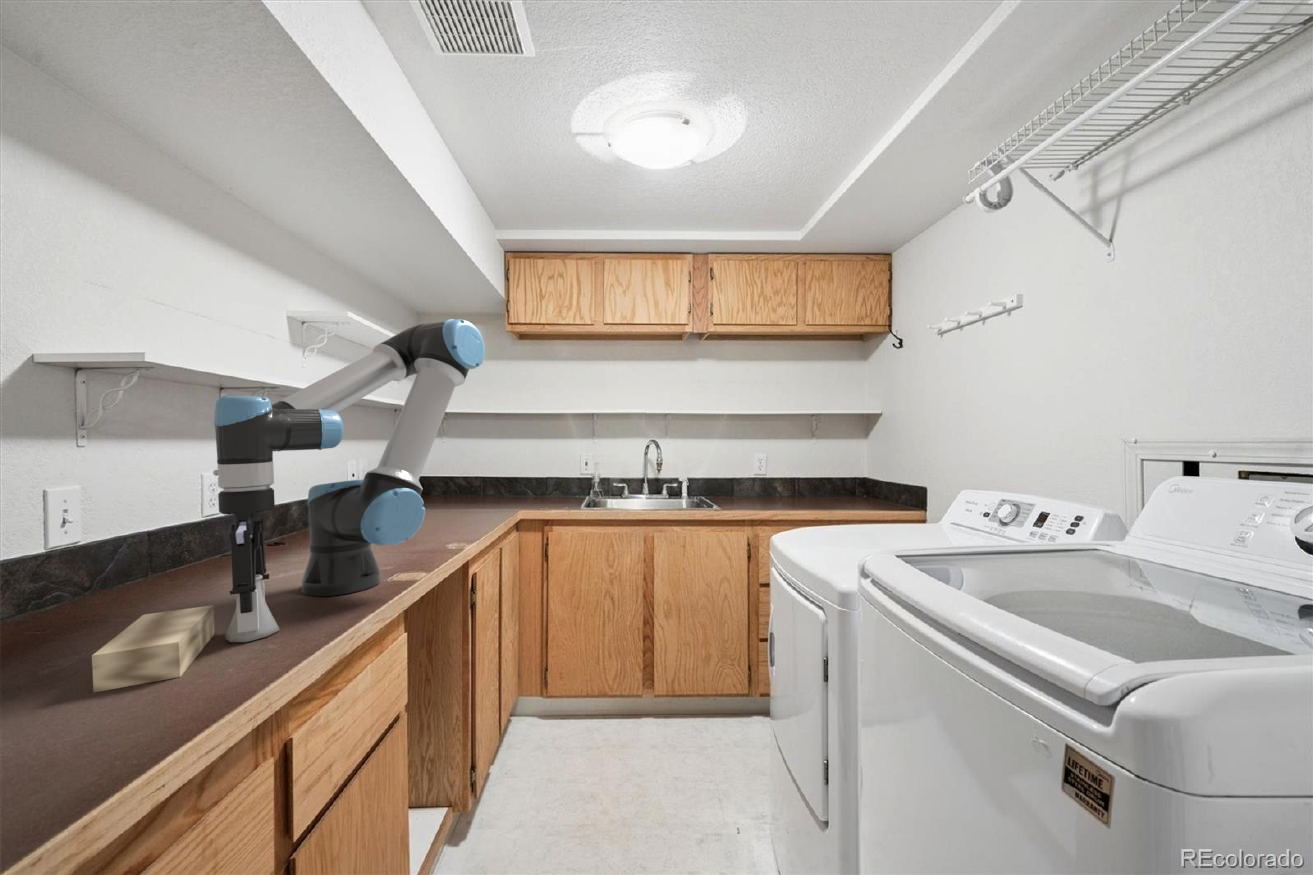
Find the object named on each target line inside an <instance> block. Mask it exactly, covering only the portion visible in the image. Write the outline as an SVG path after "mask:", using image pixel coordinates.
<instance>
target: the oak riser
mask: <svg viewBox="0 0 1313 875" xmlns="http://www.w3.org/2000/svg"><path fill="white" fill-rule="evenodd" d="M214 613H215V612H214V605H213V604H212V605H205V606H197V607H191V608H190V607H189V608H183V609H175V610H167V611H162V612H161V611H159V612H154V613H145V614H142V615H141V616H140V617H138V618H137V619H136V620H135V621H133V622H132V623H131V624H130V625H129V626H127V627H126V628H124V629H123V631H121V632H120V633H118V635H116V636H115V637H114V638H112V639H111V640H110V641H108V642H107V643H106V644H105V645H103V646H102V647H100V648H99V649H98V650H97V651H96V652H95V653H93V654H92V655H91V665H92V666H91V667H92V687H93V688H92V690H93V693H98V692H105V691H110V690H115V689H120V688H121V689H122V688H126V687H127V688H128V687H131V686H138V685H142V684H147V683H148V684H149V683H153V682H159V681H165V680H171V679H177V678H181V677H182V676H183V674H184V673H185V672H186V670H187V669H188V668H189V667H190V665H191V664H192V663H193V662H194V661H195V659H196V658H197V656H199V654H200V653H201V652H202V651H203V650H204V648H205V647H206V645H207V644H208V643H209V642H210V640H211V639H212V638H213V637H214V635H215V620H214V619H215V618H214Z"/></svg>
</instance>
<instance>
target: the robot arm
mask: <svg viewBox="0 0 1313 875" xmlns="http://www.w3.org/2000/svg"><path fill="white" fill-rule="evenodd" d="M485 356H486V346H485V342H484V339H483V336H482V334H481V332H480V331H479V329H478V327H476V326H475V325H474V324H473V323H471V322H470V321H468V320H466V319H461V318H459V319H453V318H452V319H451V318H450V319H446V321H445V320H444V321H438V322H430V323H421V324H417V325H414V326H411V327H408V328H406V329H404V330H403V331H401V332H399V333H397V334H395V335H393V336H392V337H390V338H388V339H385V340H384V341H383V342H380V343H378V344H377V345H375V346H374V347H373V348H372V352H370V353H369V354H367V355H366V356H363V357H361V358H360V359H358V360H355V361H354V362H352V363H350V364H348V365H346V366H344V367H341V368H340V369H338V370H336V371H334V372H332V373H330V374H329V375H327V376H326V377H323V378H321V379H319V380H317V381H315V382H313V383H312V384H310V385H308V386H306V387H304V388H302V389H300V390H298V391H297V392H294V393H292V394H290V395H289V396H286V397H284V398H283V399H280V400H279V401H277V402H275V403H273V404H272V402H271V400H270V399H269V397H266V396H255V395H254V396H253V395H250V396H248V395H246V396H245V395H244V396H243V395H241V396H240V395H232V396H230V395H229V396H228V395H227V396H222V397H220V398H218V399H217V400H216V402H215V406H214V407H215V408H214V423H213V426H214V432H215V443H216V458H217V459H216V462H217V463H216V464H217V467H216V468H217V469H215V470H213V472H212V474H213V476H215V477H216V476H217V484H218V485H217V486H218V488H220V489H223V490H221V491H219V493H217V494H218V495H217V498H218V512H219V513H220V514H222V515H227V516H228V515H234V517H235V518H234V524H232V525H231V526H230V532H229V540H230V545H231V547H230V548H231V574H232V575H231V576H232V579H231V580H232V588H231V589H232V590H229V595H230V596H231V595H235V596H236V607H237V625H238V633H242V632H248V631H254V630H258V629H259V615H258V591H257V590H255V589H256V586H255V579H256V575H262V576H263V578H262V579H261V590H262V594H263V597H264V600H265V601H266V597H265V596H266V593H265V590H266V588H265V580H269V579H270V573H267V568H266V567H267V566H266V564H267V563H266V546H265V545H266V544H265V542H266V541H265V528H266V527H265V523H266V521H265V519H264V518H261V515H260V514H261V513H263V512H268V511H271V510H273V509H274V508H275V505H276V504H275V489H273V487H271V486H272V485H273V484H275V475H274V474H275V471H274V468H275V467H274V461H273V460H274V458H273V457H274V452H283V451H284V452H286V451H287V452H288V451H289V452H290V451H309V450H311V451H312V450H314V451H315V450H317V451H322V450H326V449H334V448H336V447H337V446H339V445H340V443H342V440H343V438H344V434H345V433H344V422H343V419H342V417H341V416H340V414H339V413H340V412H341V411H342V410H344V409H346V408H348V407H349V406H351V405H353V404H355V403H357V402H358V401H360V400H362V399H363V398H365V397H366V396H368V395H370V394H372V393H373V392H375V391H376V390H379V389H380V388H382V387H384V386H386V385H388V384H389V383H391V382H392V381H394V382H401V381H403V380H405V379H406V378H408V377H410V376H413V375H416V376H415V378H414V381H413V384H412V385H411V388H410V390H409V392H408V395H407V397H406V399H405V402H404V405H403V406H402V409H401V411H400V414H399V416H398V418H397V420H396V423H395V425H394V427H393V430H392V432H391V434H390V437H389V439H388V442H387V444H386V446H385V449H384V451H383V454H382V456H381V458H380V460H379V463H378V465H377V467H375V468H374V469H371V470H368V471H367V472H366V473H365V475H364V477H363V479H351V480H344V481H336V482H330V483H328V482H327V483H321V484H316V485H314V486H311V487H310V488H309V490H308V496H307V503H306V505H307V508H308V509H307V510H308V529H309V530H308V532H309V534H308V535H309V558H308V561H307V564H306V568H305V571H304V574H303V577H302V579H301V593H302V594H303V595H306V596H310V597H331V596H339V595H345V594H346V595H347V594H350V593H351V594H352V593H356V592H360V591H363V590H367V589H370V588H373V587H375V586H377V585H378V584H381V581H382V570H381V568H380V566H379V564H378V561H377V559H376V556H375V554H374V551H373V549H372V545H374V546H380V547H381V546H395V545H397V546H398V545H400V544H403V543H405V542H407V541H408V540H410V539H411V538H413V537H414V536H415V535H416V534H417V532H419V530H420V529H421V526H422V525H423V522H424V520H425V517H426V516H425V515H426V508H425V506H424V504H425V502H424V500H423V498H422V497H421V496H422V492H423V489H424V488H423V487H422V485H421V483H420V478H421V475H422V473H423V470H424V468H425V465H426V463H427V461H428V458H429V454H430V452H431V449H432V447H433V444H434V442H435V439H436V437H437V435H438V431H439V429H440V426H441V424H442V421H443V418H444V416H445V413H446V411H447V408H448V405H449V404H450V401H451V398H452V395H453V392H454V390H455V388H456V387H459V386H461V385H463V384H464V383H465V380H466V379H467V376H468V373H469V371H470V370H474V369H476V368H478V367H480V366H481V365H482V363H484V360H485ZM266 573H267V574H266Z"/></svg>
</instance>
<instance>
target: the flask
mask: <svg viewBox="0 0 1313 875" xmlns="http://www.w3.org/2000/svg"><path fill="white" fill-rule="evenodd" d="M262 578H263V576H262V575H256V579H255V586H256V589H255V590H257V591H258V615H259V629H258V630H254V631H248V632H242V633H238V625H237V606H236V608H235V611H234V614H233V616H232V618H231V620H230V624H229V626H228V629H227V630H226V633H225V636H224V639H225V640H226V641H227V642H229V643H249V642H251V641H252V642H253V641H256V640H259V639H262V638H266V637H269V636H271V635H273V634H274V633H277V632H278V631H280V630H281V629H280V627H279V625H278V624H277V621H276V619H275V618H274V616H273V614H272V612H271V611H270V608H269V606H268V604H267V602H266V599H265V600H264V597H263V594H262V590H261V581H262V580H261V579H262Z"/></svg>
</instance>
